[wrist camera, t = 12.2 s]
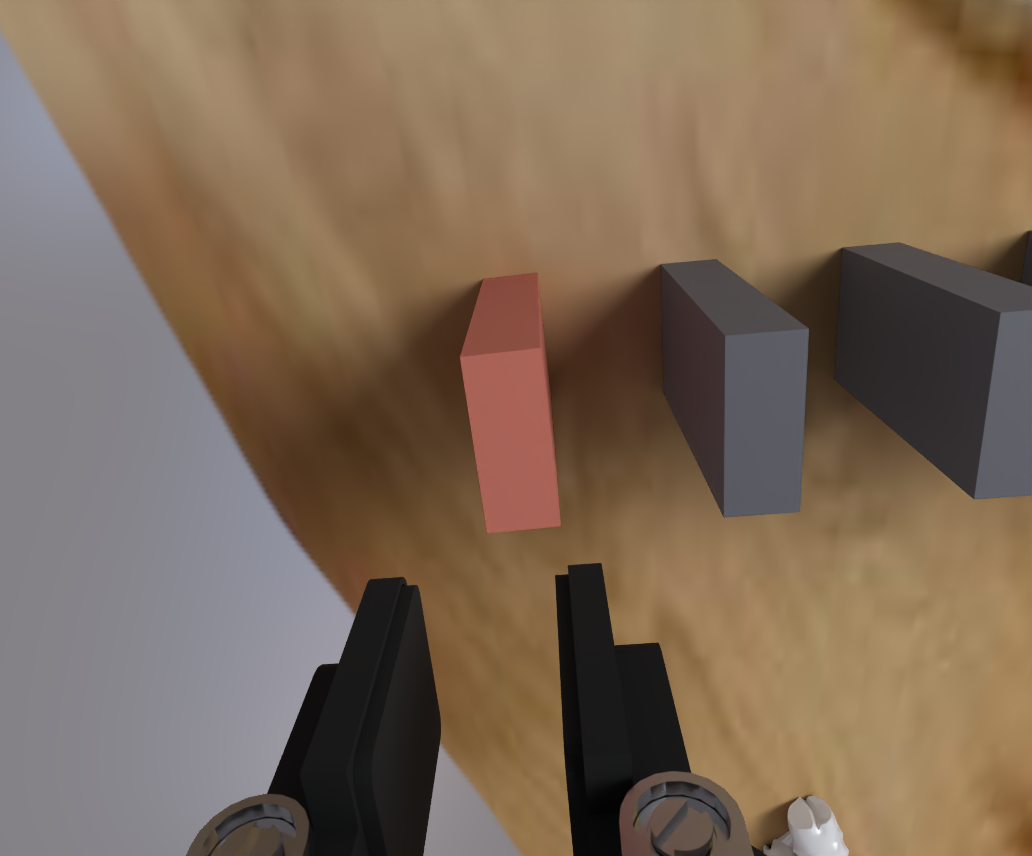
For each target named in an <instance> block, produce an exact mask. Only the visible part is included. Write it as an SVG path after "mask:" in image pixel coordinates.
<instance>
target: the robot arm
mask: <svg viewBox="0 0 1032 856" xmlns="http://www.w3.org/2000/svg"><path fill="white" fill-rule="evenodd" d="M555 581H556V601H557V621H558V640H559V660H560V680H561V699H562V719H563V739H564V755H565V768H566V780H567V791H568V802H569V813H570V823H571V834H572V845H573V856H767V855H766V854H764V853H763V852H761V851H759V850H758V849H756V848H755V847H753V846H752V845H751V843H750V839H749V836H748V832H747V828H746V824H745V821H744V817H743V815H742V813H741V811H740V809H739V807H738V804H737V802H736V801H735V800H734V799H733V798H732V797H731V796H730V795H729V793H728V792H727V791H726V790H725V789H724V788H722V787H721V786H719V785H718V784H716V783H714V782H713V781H711V780H710V779H708V778H705V777H702V776H699V775H696V774H693V773H691V770H690V766H689V762H688V758H687V754H686V750H685V746H684V741H683V737H682V733H681V729H680V725H679V721H678V717H677V713H676V709H675V704H674V700H673V696H672V692H671V688H670V684H669V680H668V676H667V672H666V668H665V663H664V659H663V655H662V651H661V648H660V645H659V643H645V644H630V645H615V646H614V640H613V634H612V628H611V621H610V615H609V608H608V602H607V596H606V589H605V583H604V576H603V570H602V564H601V563H594V564H580V565H568V574H567V575H555ZM440 737H441V719H440V711H439V705H438V699H437V693H436V687H435V681H434V675H433V669H432V664H431V658H430V652H429V646H428V640H427V634H426V628H425V622H424V616H423V610H422V604H421V598H420V592H419V588H418V586H417V585H410V586H407V582H406V580H405V578H404V577H396V578H382V579H371V580H369V581H368V583H367V586H366V589H365V591H364V594H363V597H362V600H361V603H360V605H359V608H358V611H357V614H356V617H355V619H354V622H353V625H352V628H351V631H350V634H349V636H348V639H347V642H346V645H345V648H344V650H343V653H342V656H341V659H340V662H339V663H338V664H323V665H321V666H319V667H318V668H317V670H316V672H315V674H314V676H313V678H312V681H311V683H310V686H309V689H308V691H307V694H306V696H305V699H304V701H303V704H302V706H301V709H300V712H299V714H298V716H297V719H296V722H295V724H294V727H293V729H292V732H291V734H290V737H289V739H288V742H287V745H286V747H285V749H284V753H283V755H282V757H281V760H280V762H279V765H278V767H277V770H276V772H275V775H274V778H273V780H272V783H271V785H270V788H269V790H268V793H267V794H263V795H258V796H253V797H249V798H246V799H244V800H241V801H239V802H237V803H234V804H232V805H230V806H229V807H227V808H226V809H224V810H223V811H221V812H220V813H218V814H217V815H215V816H214V817H213V818H212V819H211V820H210V821H209V822H208V823H207V824H206V825H205V826H204V827H203V828H202V829H201V830H200V831H199V833H198V834H197V836H196V838H195V839H194V841H193V843H192V844H191V846H190V848H189V850H188V852H187V855H186V856H423V853H424V846H425V840H426V833H427V826H428V819H429V813H430V805H431V799H432V792H433V785H434V779H435V772H436V765H437V758H438V752H439V745H440Z"/></svg>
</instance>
